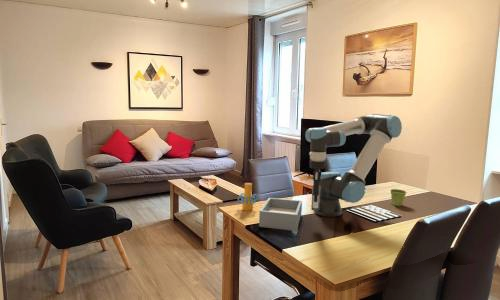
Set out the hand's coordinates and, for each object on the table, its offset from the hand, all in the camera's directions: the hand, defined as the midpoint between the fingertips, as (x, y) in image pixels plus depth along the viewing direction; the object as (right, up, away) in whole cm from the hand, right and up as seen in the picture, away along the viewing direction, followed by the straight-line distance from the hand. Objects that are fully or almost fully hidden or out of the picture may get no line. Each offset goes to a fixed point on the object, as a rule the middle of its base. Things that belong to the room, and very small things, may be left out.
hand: (315, 206), depth 180 cm
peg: (0, -2, 0) cm, 2 cm away
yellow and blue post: (-34, -6, +25) cm, 43 cm away
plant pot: (+58, -6, +43) cm, 72 cm away
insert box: (-16, -9, +9) cm, 21 cm away
